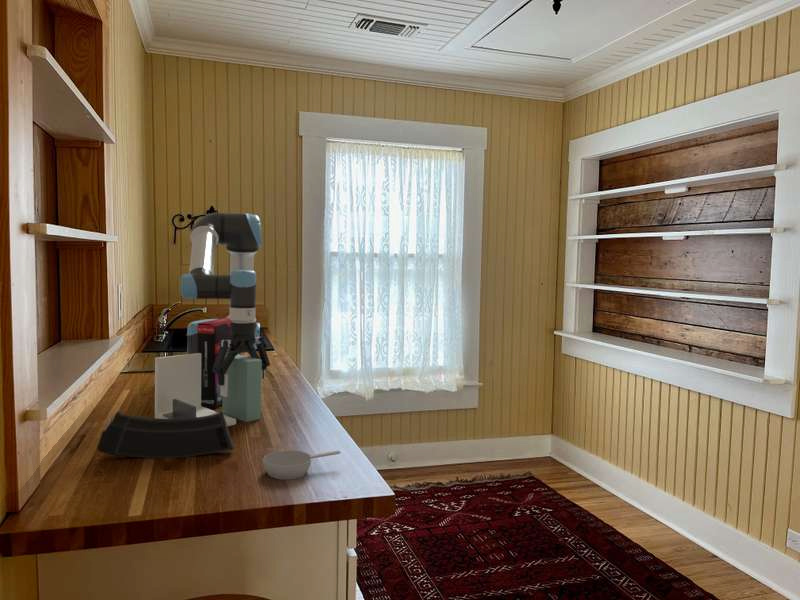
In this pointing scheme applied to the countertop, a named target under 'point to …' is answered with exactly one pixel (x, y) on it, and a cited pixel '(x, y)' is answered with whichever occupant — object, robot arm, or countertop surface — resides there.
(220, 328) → the graphics card box
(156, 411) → the white panel stand
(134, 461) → the countertop surface
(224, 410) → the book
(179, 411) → the grey block bar
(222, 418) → the magazine
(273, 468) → the saucepan
